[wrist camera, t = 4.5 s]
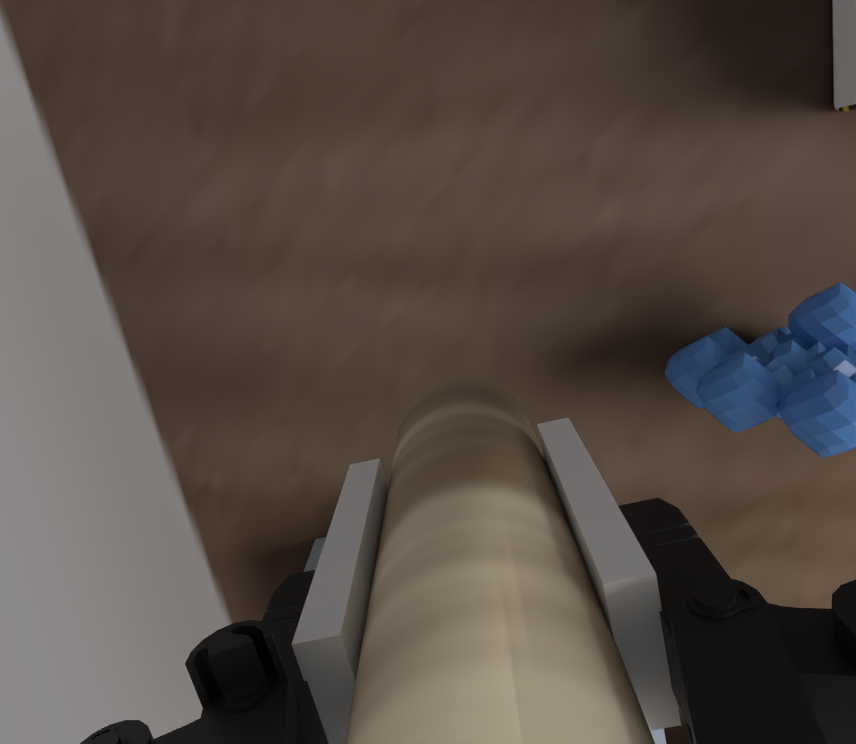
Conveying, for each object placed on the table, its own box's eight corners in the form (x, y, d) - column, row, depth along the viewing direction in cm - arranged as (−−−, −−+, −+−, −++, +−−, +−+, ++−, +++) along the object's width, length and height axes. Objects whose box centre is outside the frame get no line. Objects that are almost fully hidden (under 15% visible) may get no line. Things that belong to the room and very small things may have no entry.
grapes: (889, 267, 32) (1151, 308, 20) (864, 400, 33) (1091, 508, 22) (649, 266, 32) (770, 305, 20) (637, 397, 33) (741, 504, 22)
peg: (382, 396, 19) (231, 937, 5) (518, 365, 18) (740, 858, 5) (415, 518, 20) (362, 1236, 6) (545, 491, 19) (787, 1184, 6)
